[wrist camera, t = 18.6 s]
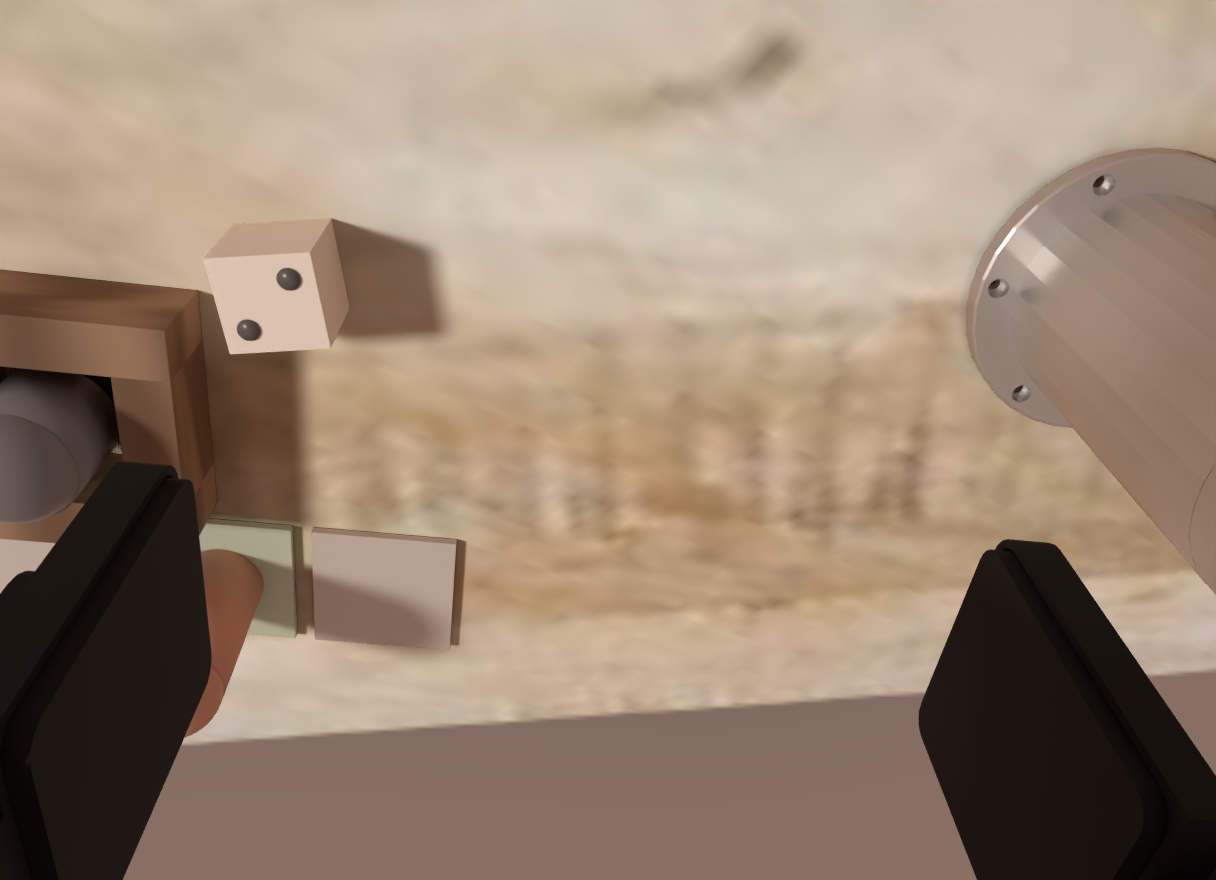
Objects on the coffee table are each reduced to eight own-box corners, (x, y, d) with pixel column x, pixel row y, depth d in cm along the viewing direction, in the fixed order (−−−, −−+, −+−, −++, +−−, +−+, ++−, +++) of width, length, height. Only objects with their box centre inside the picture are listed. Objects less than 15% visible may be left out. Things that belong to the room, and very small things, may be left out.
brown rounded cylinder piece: (262, 553, 48) (205, 696, 40) (264, 614, 50) (210, 762, 42) (178, 545, 48) (103, 689, 40) (183, 608, 50) (113, 756, 42)
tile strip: (456, 539, 49) (455, 544, 48) (450, 644, 52) (449, 649, 52) (-30, 498, 47) (-35, 503, 46) (-2, 610, 50) (-6, 615, 50)
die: (331, 217, 40) (309, 253, 37) (350, 307, 42) (330, 349, 39) (234, 223, 40) (202, 259, 37) (257, 313, 42) (229, 355, 39)
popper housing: (197, 290, 42) (164, 330, 38) (217, 502, 47) (189, 554, 44) (-77, 261, 41) (-137, 300, 37) (-23, 482, 46) (-71, 533, 43)
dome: (112, 370, 41) (46, 446, 36) (126, 470, 44) (67, 554, 38) (-14, 358, 40) (-99, 433, 35) (8, 460, 43) (-68, 543, 38)
